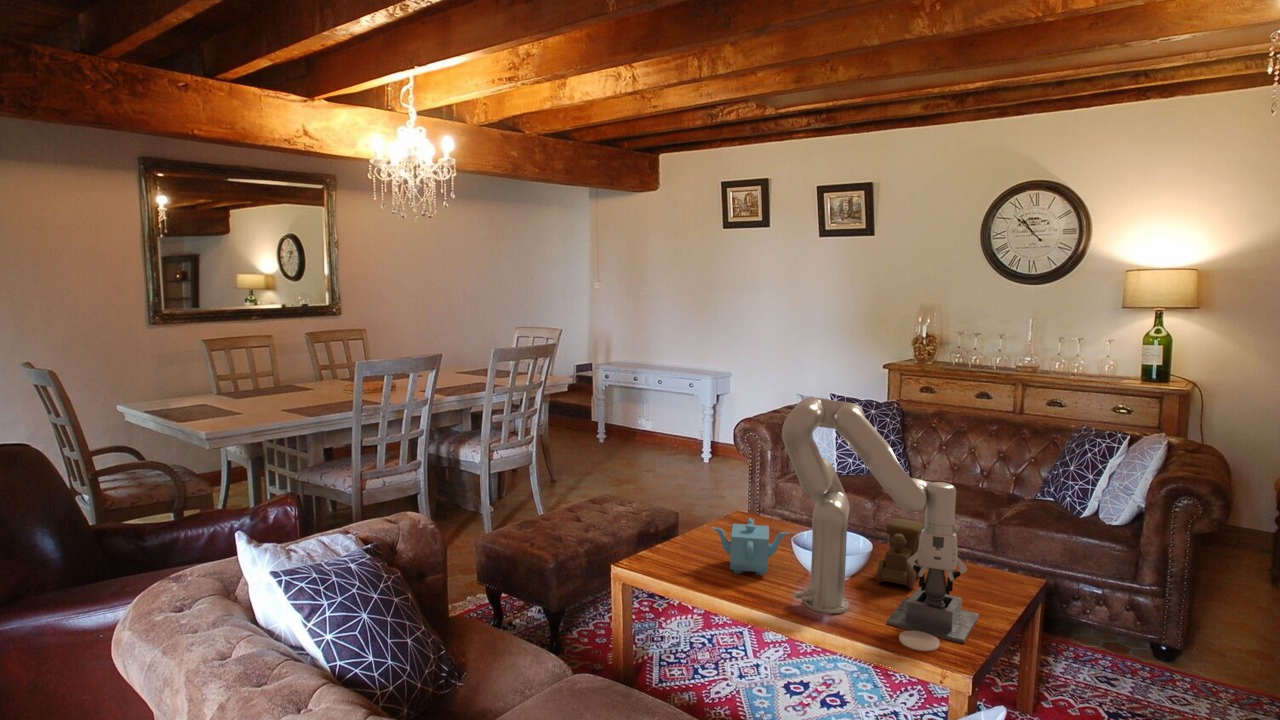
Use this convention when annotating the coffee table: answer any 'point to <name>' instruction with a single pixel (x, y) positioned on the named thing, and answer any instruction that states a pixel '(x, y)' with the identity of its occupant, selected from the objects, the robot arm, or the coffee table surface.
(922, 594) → the socket
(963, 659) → the coffee table surface
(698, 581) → the coffee table surface
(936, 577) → the candle holder
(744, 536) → the teakettle
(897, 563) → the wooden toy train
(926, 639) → the coaster
